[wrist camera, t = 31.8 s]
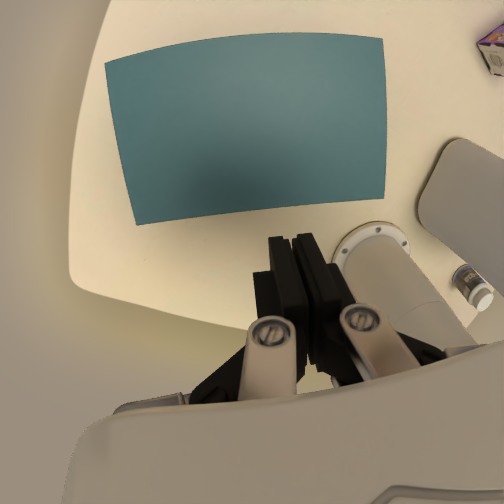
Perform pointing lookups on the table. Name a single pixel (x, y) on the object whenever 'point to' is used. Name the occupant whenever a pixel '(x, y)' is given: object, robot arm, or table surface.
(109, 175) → the table surface
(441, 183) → the plastic bottle
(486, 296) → the pill bottle
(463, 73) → the table surface
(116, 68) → the cool box lid
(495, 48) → the candy box
